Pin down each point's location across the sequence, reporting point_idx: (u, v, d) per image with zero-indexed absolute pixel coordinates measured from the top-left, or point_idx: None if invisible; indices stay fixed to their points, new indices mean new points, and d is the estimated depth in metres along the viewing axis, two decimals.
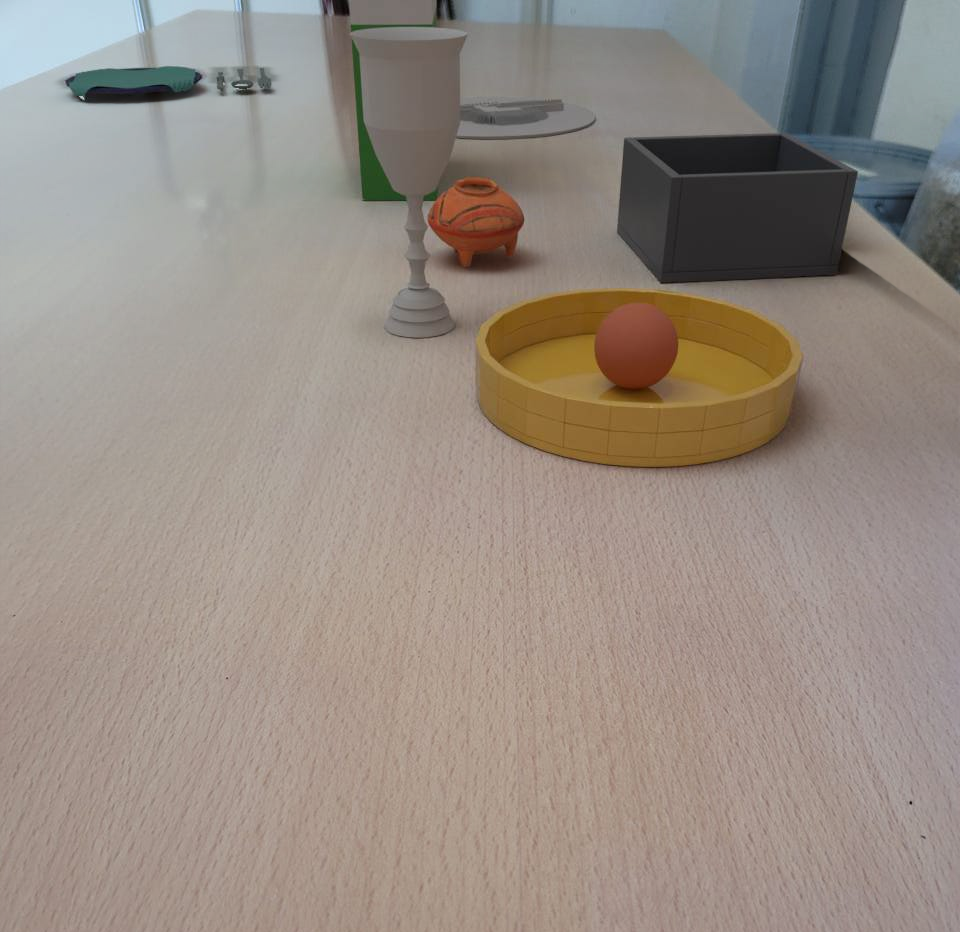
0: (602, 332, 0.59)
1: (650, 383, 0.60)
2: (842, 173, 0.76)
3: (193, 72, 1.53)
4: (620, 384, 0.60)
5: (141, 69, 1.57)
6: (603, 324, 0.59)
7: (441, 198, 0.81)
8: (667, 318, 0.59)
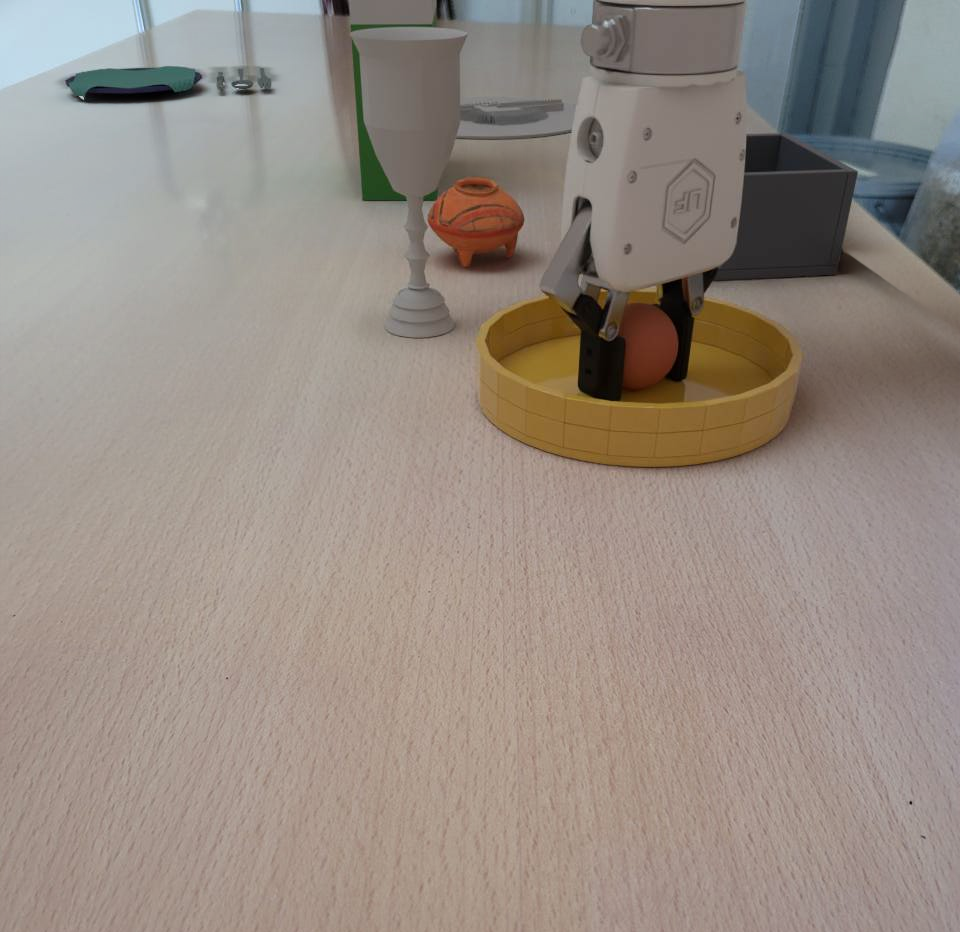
0: None
1: (650, 383, 0.60)
2: (842, 173, 0.76)
3: (193, 72, 1.53)
4: None
5: (141, 69, 1.57)
6: None
7: (441, 198, 0.81)
8: (667, 318, 0.59)
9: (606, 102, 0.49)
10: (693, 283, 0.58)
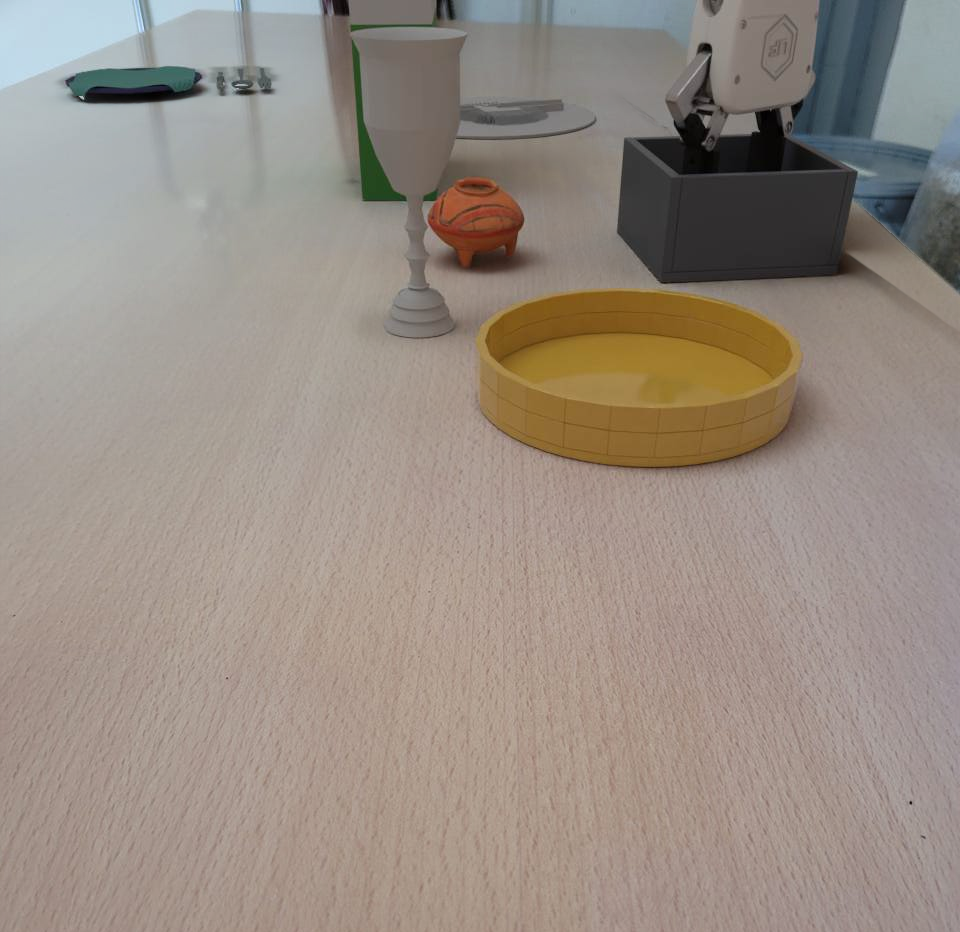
0: None
1: None
2: (842, 173, 0.76)
3: (193, 72, 1.53)
4: None
5: (141, 69, 1.57)
6: None
7: (441, 198, 0.81)
8: None
9: None
10: (784, 112, 0.80)
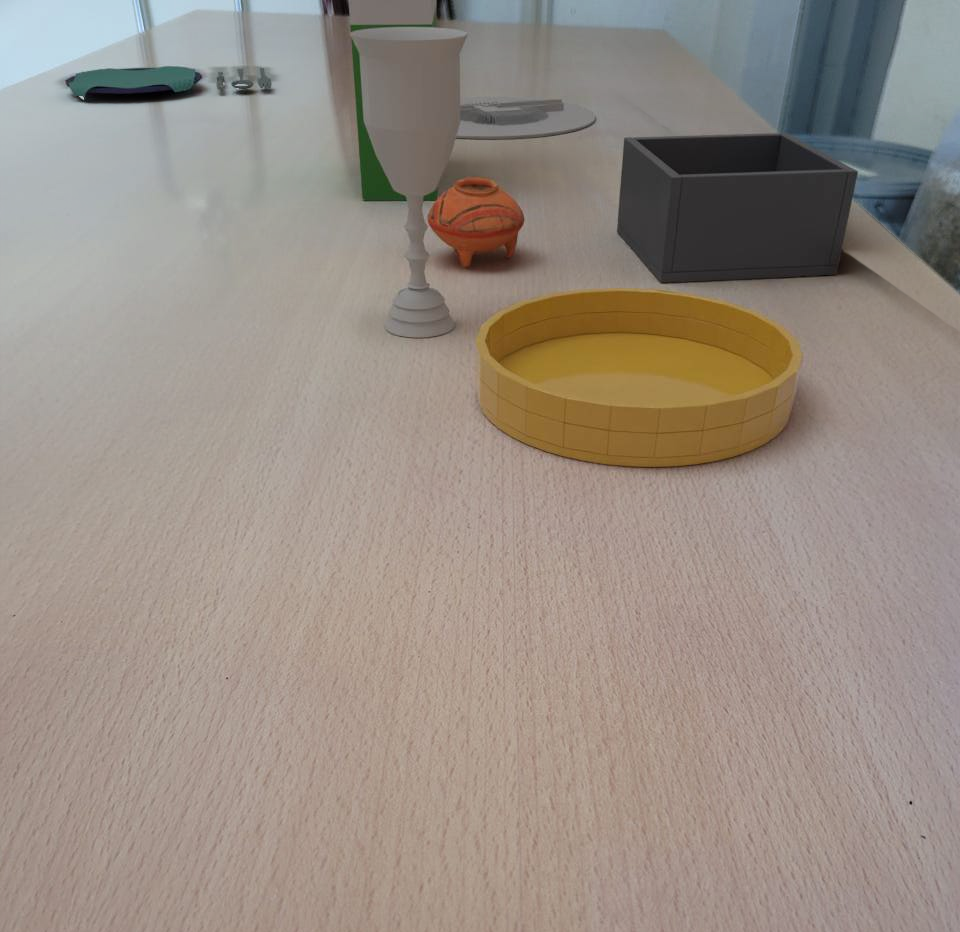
0: None
1: None
2: (842, 173, 0.76)
3: (193, 72, 1.53)
4: None
5: (141, 69, 1.57)
6: None
7: (441, 198, 0.81)
8: None
9: None
10: None
